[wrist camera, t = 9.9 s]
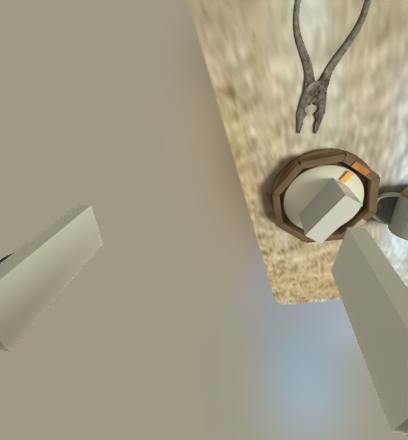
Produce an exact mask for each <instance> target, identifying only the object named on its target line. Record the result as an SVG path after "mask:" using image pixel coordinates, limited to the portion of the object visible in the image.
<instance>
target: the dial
mask: <svg viewBox="0 0 408 440" xmlns="http://www.w3.org/2000/svg"><path fill="white" fill-rule="evenodd" d="M363 199H364V188H363V184H362V182H361V180H360V179H359V178H358V176H357V175H356V174H355V173H354V172H352V171H351V170H350V169H348V168H346V167H344V166H341V165H336V164H326V165H321V166H315V167H310V168H308V169H306V170H304V171H302V172H301V173H299V174H298V175H297V176H296V177H295V178H294V179H293V180H292V182H291V183H290V184H289V185H288V186H287V188H286V190H285V193H284V198H283V204H284V209H285V213H286V215H287V217H288V218H289V219H290V221H291V222H292V223H294V224H295V225H296V226H298V227H300V228H302V229H303V230H304V233H305V236H307V237H309V238H311V239H312V240H314V241H316V242H318V243H320V244H321V243H322V242H323V241H325V240H326V239H327V238H328V237H329V236H330V235H331V234H332V233H333V232H334V231H335V230H337V229H338V228H339V227H340V226H341V225H343V224H345V223H346V222H348V221H349V220H350V219H352V218H353V217H354V216H355V215H356V213H357V212H358V211H359V209H360V207H362V206H363V204H362V203H363Z"/></svg>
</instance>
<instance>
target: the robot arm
mask: <svg viewBox="0 0 408 440" xmlns="http://www.w3.org/2000/svg"><path fill="white" fill-rule="evenodd" d="M102 245H103V242H102V239H101V236H100V233H99V230H98V226H97V223H96V220H95V216H94V213H93V210H92V207H91V205H83V204H78V205H77V206H75V207H74V208H73V209H71V210H70V211H69V212H68V213H67V214H65V215H64V216H62V217H61V218H60V219H58V220H57V221H56V222H54V223H53V224H52V225H50V226H49V227H48V228H47V229H45V230H44V231H42V232H41V233H40V234H39V235H37V236H36V237H34V238H33V239H32V240H31V241H29V242H28V243H26V244H25V245H24V246H22V247H21V248H20V249H19V250H17V251H16V252H14V253H13V254H10V255H8V256H6V257H4V258H3V259H1V260H0V350H4V351H10V350H11V349H12V348H13V347H14V346H15V344H16V343H17V342H18V341H19V340H20V339H21V338H22V336H23V335H24V334H25V333H26V332H27V331H28V330H29V328H30V327H31V326H32V325H33V324H34V323H35V322H36V321H37V319H38V318H39V317H40V316H41V314H43V313H44V311H45V310H46V309H47V308H48V307H49V306H50V305H51V303H52V302H53V301H54V300H55V299H56V298H57V297H58V295H59V294H60V293H61V292H62V291H63V290H64V288H65V287H66V286H67V285H68V284H69V283H70V282H71V281H72V279H73V278H74V277H75V276H76V275H77V274H78V272H79V271H80V270H81V269H82V268H83V267H84V266H85V264H86V263H87V262H88V261H89V260H90V259H91V258H92V257H93V255H94V254H95V253H96V252H97V251H98V250H99V249H100V248H101V246H102ZM331 271H332V274H333V277H334V279H335V282H336V285H337V287H338V290H339V293H340V295H341V298H342V300H343V303H344V306H345V308H346V311H347V314H348V316H349V319H350V322H351V324H352V327H353V330H354V332H355V335H356V337H357V340H358V343H359V346H360V348H361V351H362V353H363V356H364V359H365V362H366V364H367V367H368V369H369V372H370V375H371V377H372V380H373V383H374V386H375V388H376V391H377V393H378V396H379V399H380V401H381V404H382V407H383V409H384V412H385V415H386V417H387V420H388V423H389V425H390V428H391V431H392V432H394V433H399V434H404V435H408V289H407V287H406V286H405V284H404V283H403V281H402V280H401V278H400V277H399V276H398V274H397V273H396V271H395V270H394V268H393V267H392V265H391V264H390V263H389V261H388V260H387V258H386V257H385V255H384V254H383V253H382V251H381V250H380V248H379V247H378V245H377V244H376V242H375V241H374V240H373V238H372V237H371V235H370V234H369V232H368V231H367V230H366V229H364V228H352V227H348V228H347V231H346V233H345V236H344V238H343V241H342V244H341V246H340V249H339V252H338V254H337V257H336V259H335V262H334V265H333V267H332V270H331Z"/></svg>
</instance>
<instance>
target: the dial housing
mask: <svg viewBox="0 0 408 440" xmlns="http://www.w3.org/2000/svg"><path fill="white" fill-rule="evenodd" d="M326 164H336V165H341V166H344V167H346V168H348V169H350V170H351V171H352V172H354V173H355V174H356V175H357V176H358V178H359V179H360V180H361V182H362V184H363V188H364V199H363V203H362V204H363V206H362V207H360V209H359V211H358V212H357V213H356V215H355V216H354V217H353V218H352V219H350V220H349V221H348V222H346V223H345V224H343V225H341V226H340V227H339V228H338V229H337V230H335V231H334V232H333V233H332V234H331V235H330V236H329V237H328V238H327V239H326V240H325V241H330V240H340V239H343V237H344V236H345V233H346V231H347V228H348V227H352V228H360V227H361V226H362V225H363V224H365V223H366V221H368V220H369V219H370V218H372V217H373V216H374V215H375V213H377V203H378V193H379V183H380V177H379V175H377V174H376V173H375V172H374V171H372V170H371V169H370V168H369V166H368V165H367V164H366V163H365V162H364V161H362V160H361V159H360V158H359V157H357V156H356V155H354V154H352V153H350V152H347V151H344V150H340V149H320V150H315V151H312V152H309V153H306V154H303V155H301V156H300V157H298V158H296V159H295V160H293V161H292V162H290V163H289V164H288V165H287V166H286V167H285V168H284V169H283V170H282V171H281V172H280V174H279V175H278V177H277V178H276V180H275V182H274V185H273V188H272V194H271V201H272V208H273V212H274V214H275V216H276V223H277V225H278V227H280V228H282V229H283V230H285V231H287V232H288V233H290V234H291V235H293V236H295V237H296V238H298V239H300V240H301V241H303V242H305V241H306V243H309V242H316V241H314V240H312V239H311V238H309V237H307V236H305V233H304V230H303V229H302V228H300V227H298V226H296V225H295V224H294V223H292V222H291V221H290V219H289V218H288V217H287V215H286V213H285V209H284V204H283V198H284V193H285V190H286V188H287V186H288V185H289V184H290V183H291V182H292V180H293V179H294V178H295V177H296V176H297V175H298V174H299V173H301V172H302V171H304V170H306V169H308V168H310V167H315V166H321V165H326Z"/></svg>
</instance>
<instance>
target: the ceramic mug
mask: <svg viewBox="0 0 408 440" xmlns="http://www.w3.org/2000/svg"><path fill="white" fill-rule="evenodd" d="M384 197H398V199H397V202H396V205H395V208H394V211H393V213H392V216H391V219H390V220H387V219H384V218H381V217H379V216H378V215H376V214H375V215H374V216H373V218H374V219H376V220H377V221H379V222H381V223H384V224H387V225H388V228H389V230H390V231H391V232H392V233H393V234H394V235H396V236H398V237H400V238H403V239H405V240H408V187H407V188H405V189H403V190H402V192H401V193H396V192H387V193H382V194H380V195H378V202H379V200H380V199H381V198H384Z"/></svg>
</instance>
